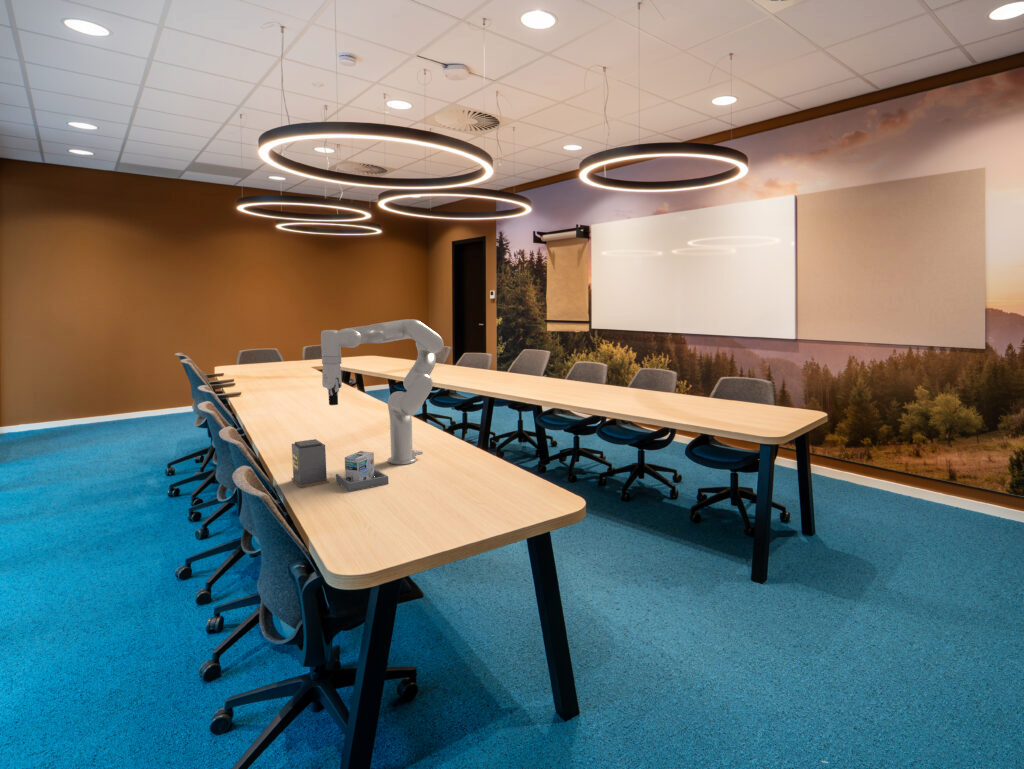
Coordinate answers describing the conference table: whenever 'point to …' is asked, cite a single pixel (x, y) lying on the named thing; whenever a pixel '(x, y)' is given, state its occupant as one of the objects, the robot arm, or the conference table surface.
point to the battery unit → (309, 463)
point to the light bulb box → (359, 466)
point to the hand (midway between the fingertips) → (333, 404)
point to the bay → (363, 481)
